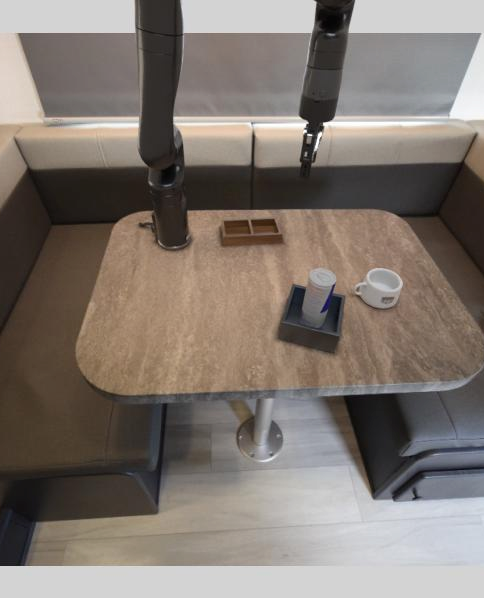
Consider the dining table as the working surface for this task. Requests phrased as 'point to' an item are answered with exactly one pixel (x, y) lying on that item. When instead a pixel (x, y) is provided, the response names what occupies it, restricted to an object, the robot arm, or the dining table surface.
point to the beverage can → (317, 297)
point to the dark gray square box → (307, 334)
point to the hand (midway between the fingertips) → (307, 169)
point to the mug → (380, 288)
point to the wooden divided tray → (251, 231)
